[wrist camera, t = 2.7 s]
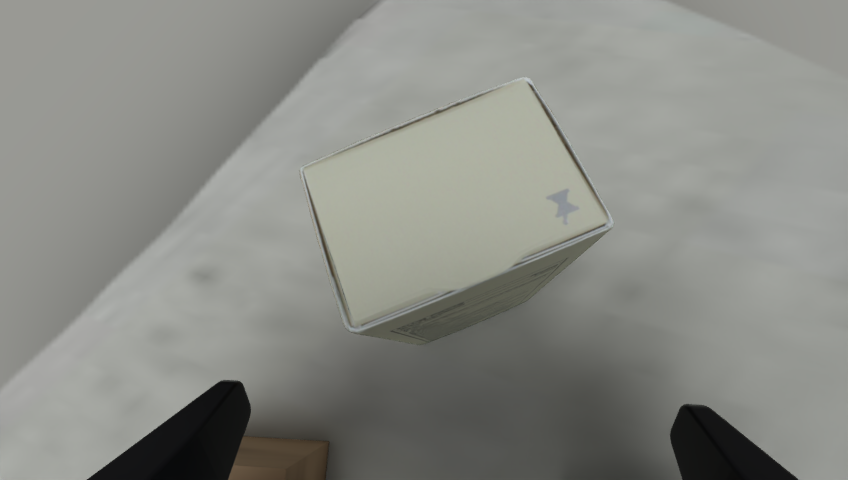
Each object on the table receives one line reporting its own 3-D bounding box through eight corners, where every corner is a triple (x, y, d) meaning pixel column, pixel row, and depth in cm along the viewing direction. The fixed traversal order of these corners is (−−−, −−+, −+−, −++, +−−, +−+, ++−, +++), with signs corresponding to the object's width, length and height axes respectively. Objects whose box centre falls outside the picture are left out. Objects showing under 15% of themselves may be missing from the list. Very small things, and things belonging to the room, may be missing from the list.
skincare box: (494, 226, 21) (541, 62, 9) (530, 302, 20) (636, 220, 8) (381, 270, 21) (288, 159, 9) (410, 350, 20) (344, 338, 8)
